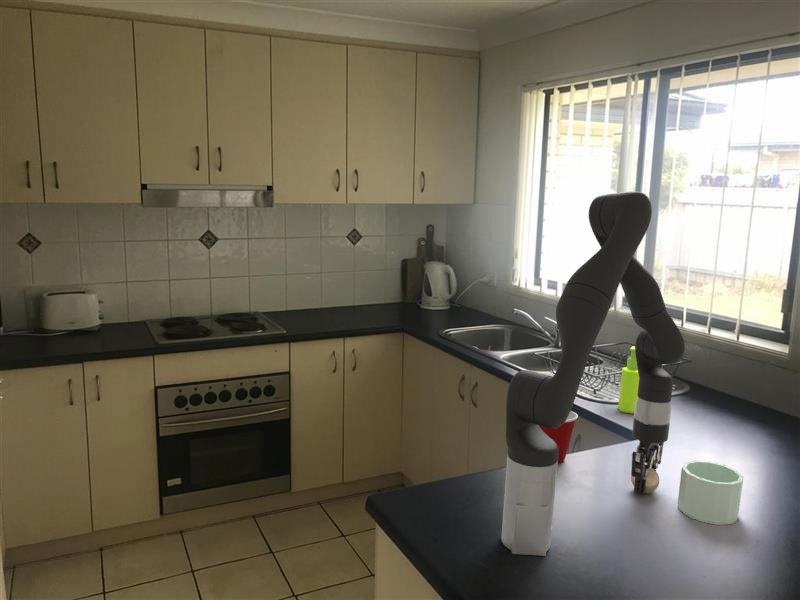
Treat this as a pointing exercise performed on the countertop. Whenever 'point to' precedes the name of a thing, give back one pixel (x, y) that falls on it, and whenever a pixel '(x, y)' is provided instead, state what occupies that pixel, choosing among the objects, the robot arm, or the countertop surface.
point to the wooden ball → (649, 480)
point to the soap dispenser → (629, 384)
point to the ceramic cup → (710, 492)
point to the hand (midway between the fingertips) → (644, 488)
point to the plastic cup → (562, 435)
